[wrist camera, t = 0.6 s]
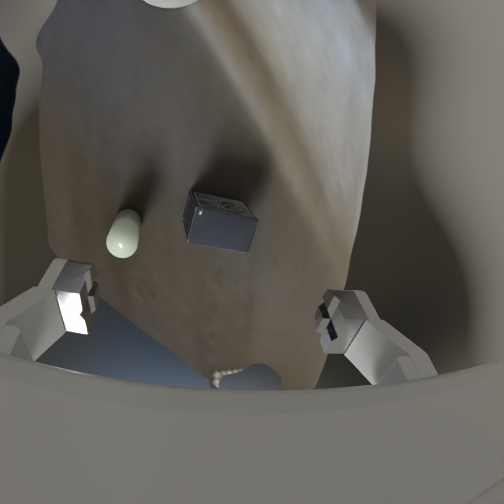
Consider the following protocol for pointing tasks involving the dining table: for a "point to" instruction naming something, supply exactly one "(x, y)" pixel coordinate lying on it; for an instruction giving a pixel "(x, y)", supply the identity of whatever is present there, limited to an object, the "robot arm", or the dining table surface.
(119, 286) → the dining table surface
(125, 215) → the pale green tall cylinder
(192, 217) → the small box
